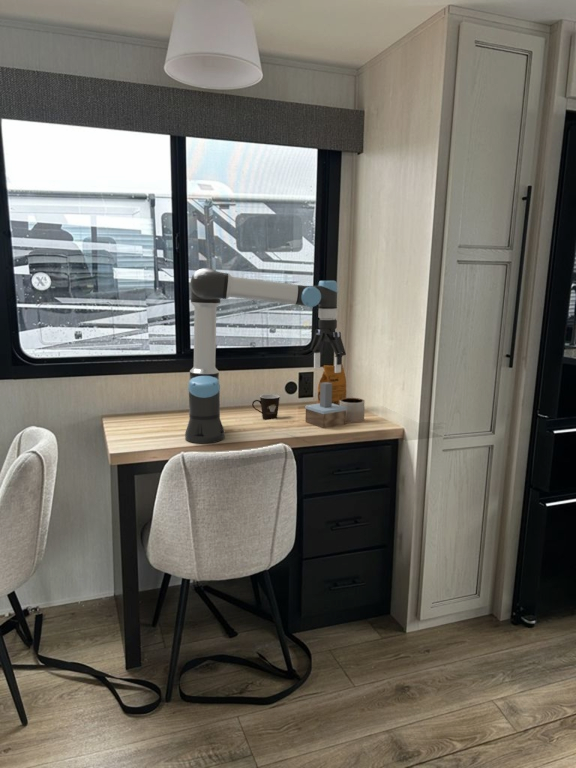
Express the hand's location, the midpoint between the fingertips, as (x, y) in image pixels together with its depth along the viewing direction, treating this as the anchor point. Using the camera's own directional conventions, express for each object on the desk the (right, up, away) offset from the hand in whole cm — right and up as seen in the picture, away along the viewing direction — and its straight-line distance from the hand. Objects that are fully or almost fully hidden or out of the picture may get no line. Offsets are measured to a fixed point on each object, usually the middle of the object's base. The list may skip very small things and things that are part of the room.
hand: (327, 370), depth 242 cm
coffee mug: (-26, -21, +16) cm, 37 cm away
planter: (+11, -22, +11) cm, 27 cm away
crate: (-1, -23, +4) cm, 24 cm away
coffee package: (+4, -19, +30) cm, 36 cm away
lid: (0, -18, +3) cm, 18 cm away
